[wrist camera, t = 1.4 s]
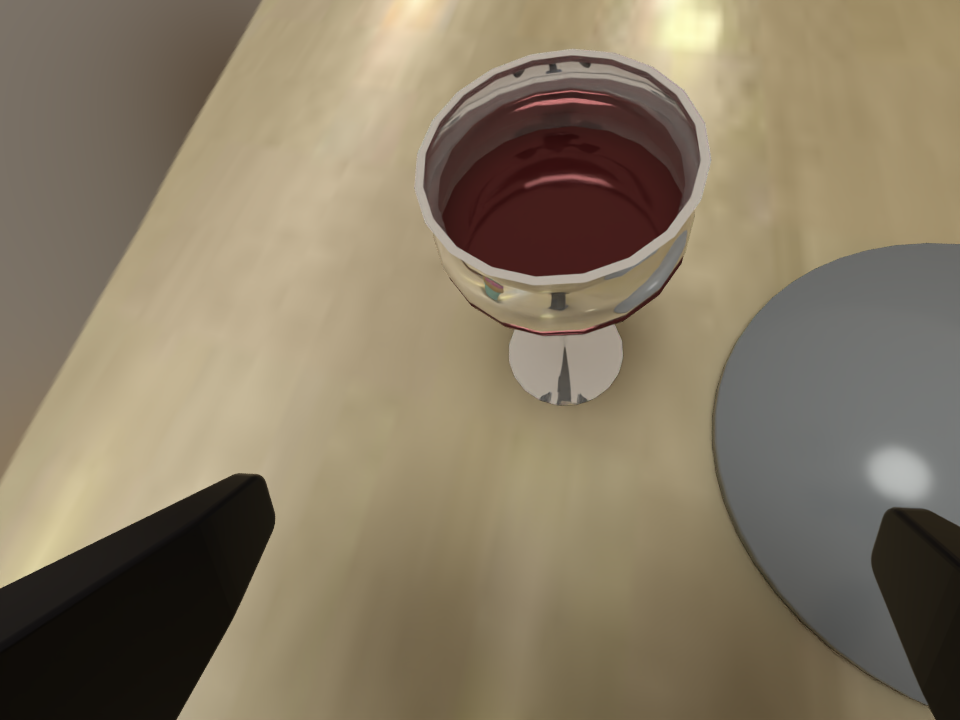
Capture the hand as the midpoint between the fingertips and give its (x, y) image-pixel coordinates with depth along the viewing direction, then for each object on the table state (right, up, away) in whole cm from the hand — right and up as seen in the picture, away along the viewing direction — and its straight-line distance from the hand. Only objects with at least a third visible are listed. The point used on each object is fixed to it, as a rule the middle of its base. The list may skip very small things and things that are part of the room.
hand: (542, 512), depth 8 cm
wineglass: (+3, +3, +15) cm, 16 cm away
